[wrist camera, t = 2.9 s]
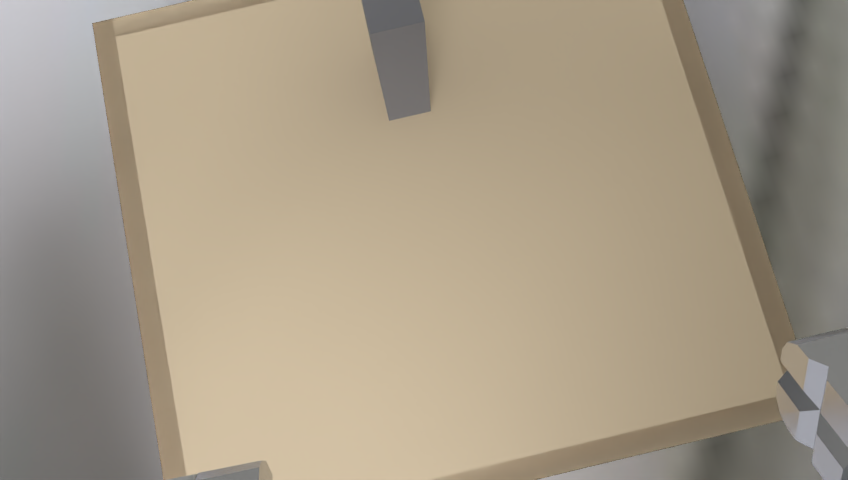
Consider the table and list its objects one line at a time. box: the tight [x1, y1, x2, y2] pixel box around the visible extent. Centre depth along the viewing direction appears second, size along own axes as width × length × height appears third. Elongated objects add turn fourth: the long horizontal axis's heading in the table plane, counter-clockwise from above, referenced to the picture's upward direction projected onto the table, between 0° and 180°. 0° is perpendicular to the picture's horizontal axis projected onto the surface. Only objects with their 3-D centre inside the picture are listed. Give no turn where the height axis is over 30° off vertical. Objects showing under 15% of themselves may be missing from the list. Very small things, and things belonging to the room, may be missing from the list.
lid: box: [92, 0, 796, 480], centre depth 26 cm, size 20×22×9 cm
